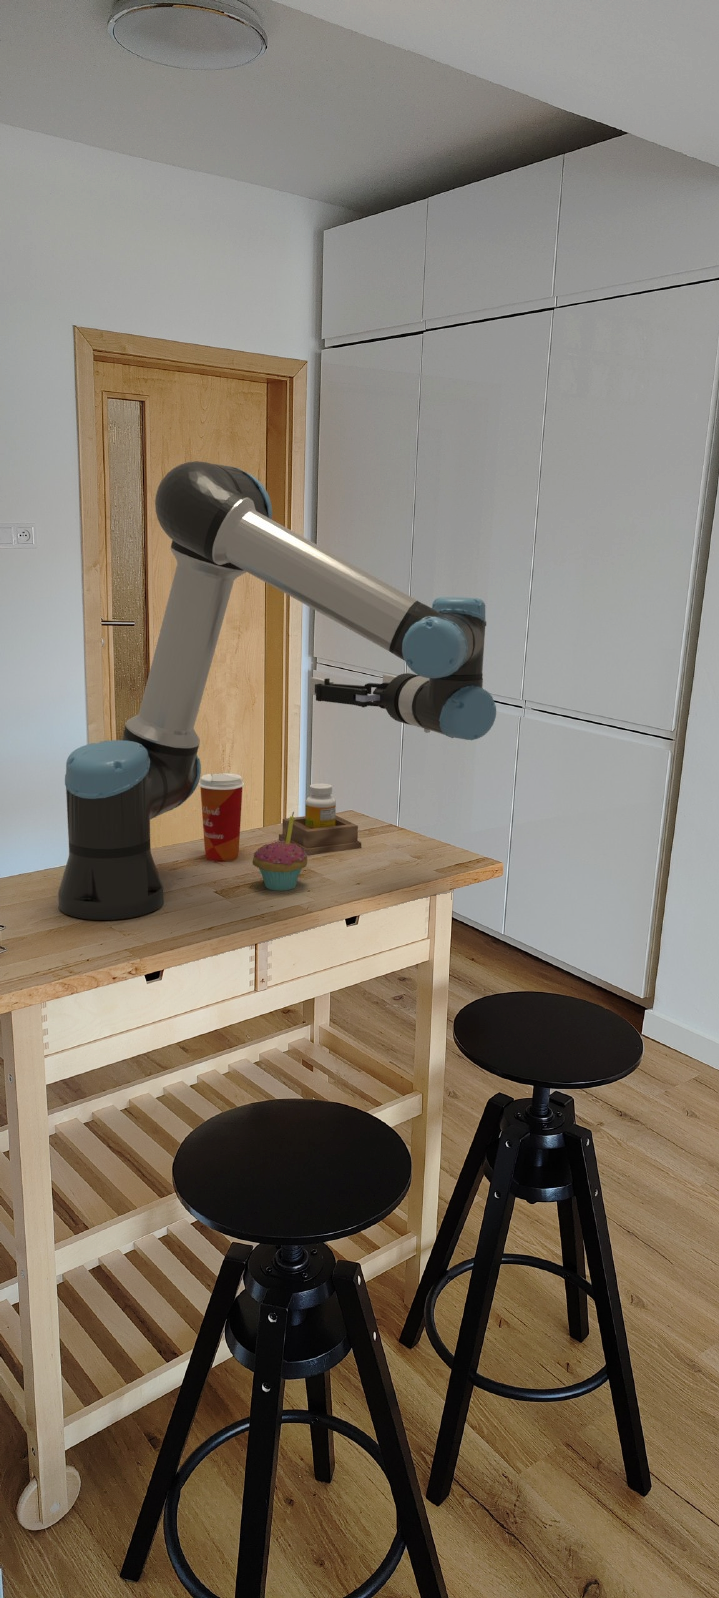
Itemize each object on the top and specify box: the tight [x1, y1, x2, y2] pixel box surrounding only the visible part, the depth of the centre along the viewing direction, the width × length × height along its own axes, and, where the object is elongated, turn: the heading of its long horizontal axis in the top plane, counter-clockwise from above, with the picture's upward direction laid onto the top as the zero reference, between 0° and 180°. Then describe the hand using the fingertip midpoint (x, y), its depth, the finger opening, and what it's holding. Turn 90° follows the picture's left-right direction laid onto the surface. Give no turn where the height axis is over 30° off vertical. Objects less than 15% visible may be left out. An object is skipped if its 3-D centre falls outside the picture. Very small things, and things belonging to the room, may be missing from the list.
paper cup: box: [197, 772, 245, 862], centre depth 182 cm, size 8×8×14 cm
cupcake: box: [251, 811, 308, 892], centre depth 168 cm, size 9×8×12 cm
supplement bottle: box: [305, 782, 337, 829], centre depth 192 cm, size 5×5×10 cm
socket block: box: [278, 815, 362, 856], centre depth 193 cm, size 11×11×4 cm
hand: (349, 683), depth 179 cm, fingers open, 13 cm apart
